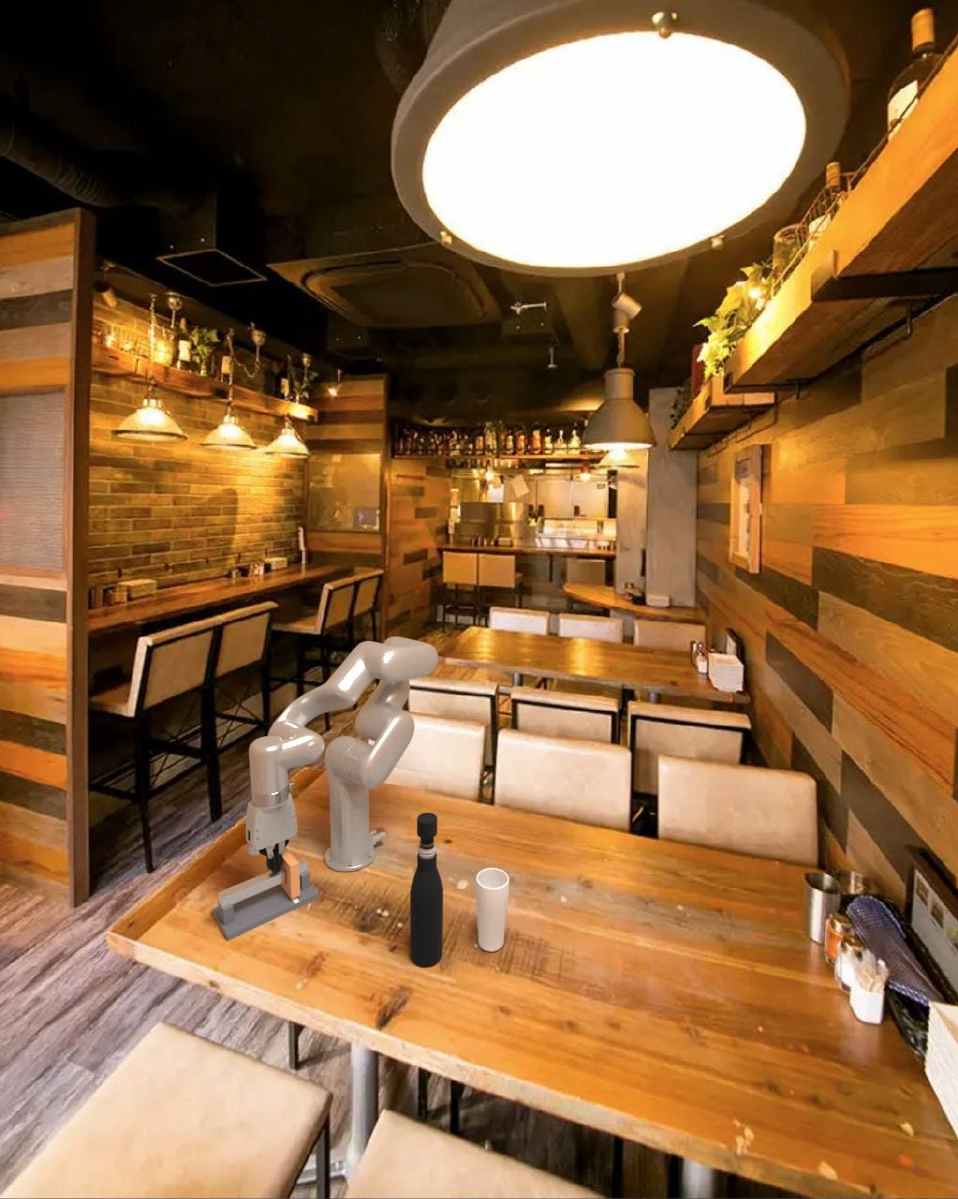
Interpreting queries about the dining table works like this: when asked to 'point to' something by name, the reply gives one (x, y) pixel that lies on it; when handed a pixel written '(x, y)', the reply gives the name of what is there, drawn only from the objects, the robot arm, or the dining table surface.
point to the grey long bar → (257, 885)
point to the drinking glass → (491, 907)
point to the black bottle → (426, 898)
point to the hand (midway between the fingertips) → (274, 869)
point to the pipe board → (262, 908)
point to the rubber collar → (291, 874)
